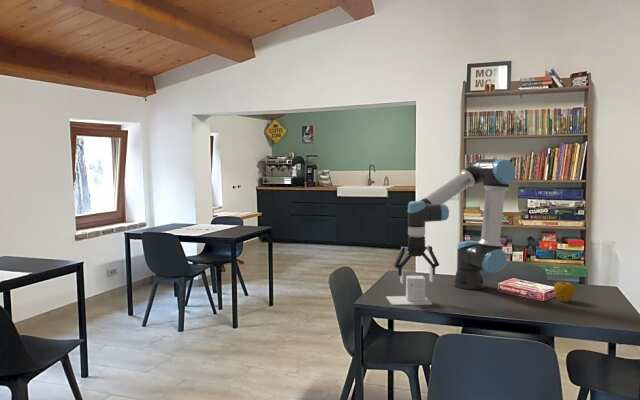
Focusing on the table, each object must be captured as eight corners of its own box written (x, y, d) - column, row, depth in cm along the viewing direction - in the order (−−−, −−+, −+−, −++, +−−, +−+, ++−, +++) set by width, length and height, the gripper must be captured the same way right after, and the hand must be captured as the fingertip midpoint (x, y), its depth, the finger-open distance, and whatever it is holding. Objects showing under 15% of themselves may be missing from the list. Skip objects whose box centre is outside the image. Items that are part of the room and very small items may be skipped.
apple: (573, 299, 219) (574, 280, 218) (575, 304, 211) (576, 285, 210) (553, 297, 222) (554, 278, 222) (553, 302, 215) (554, 283, 214)
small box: (422, 298, 218) (423, 275, 217) (425, 301, 212) (426, 278, 212) (405, 297, 218) (405, 275, 217) (407, 301, 212) (408, 278, 212)
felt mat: (424, 297, 222) (424, 295, 222) (432, 304, 210) (432, 303, 210) (386, 297, 220) (386, 296, 220) (392, 305, 208) (392, 304, 208)
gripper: (440, 233, 218) (440, 278, 220) (387, 235, 216) (387, 281, 217) (446, 236, 210) (446, 283, 212) (391, 238, 208) (391, 285, 210)
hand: (416, 282), depth 215 cm, fingers open, 13 cm apart
